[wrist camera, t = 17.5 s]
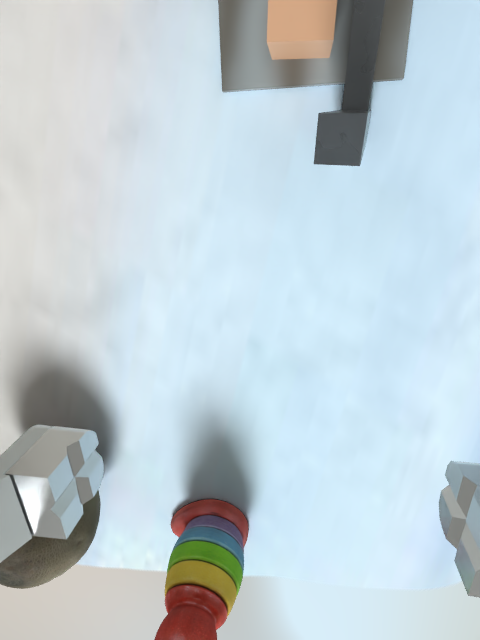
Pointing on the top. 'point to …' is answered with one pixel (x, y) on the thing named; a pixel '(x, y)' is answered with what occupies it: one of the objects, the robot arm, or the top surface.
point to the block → (300, 28)
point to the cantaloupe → (51, 552)
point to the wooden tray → (264, 73)
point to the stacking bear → (203, 569)
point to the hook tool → (353, 92)
